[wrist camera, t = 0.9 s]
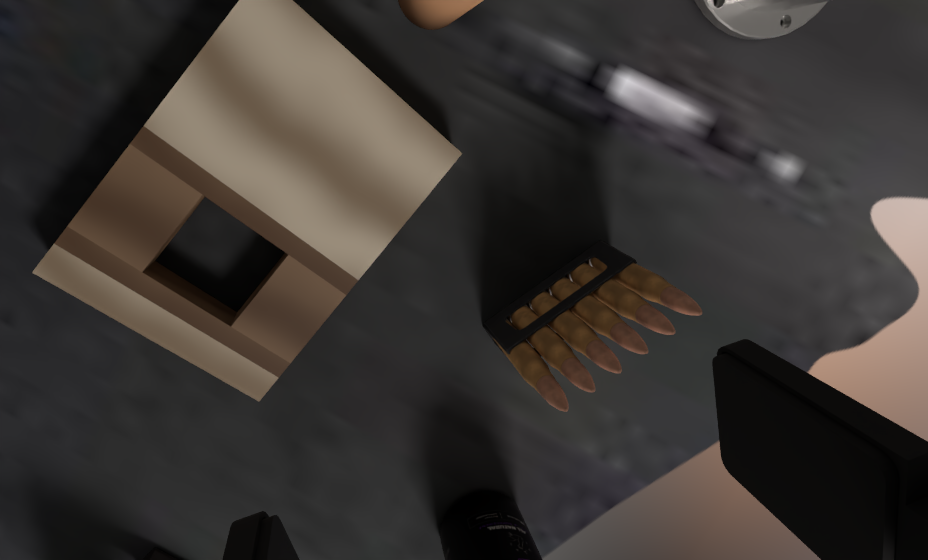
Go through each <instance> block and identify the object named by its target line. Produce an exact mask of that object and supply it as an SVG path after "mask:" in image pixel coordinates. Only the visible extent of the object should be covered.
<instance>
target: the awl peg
mask: <svg viewBox="0 0 928 560" xmlns="http://www.w3.org/2000/svg"><path fill="white" fill-rule="evenodd" d="M482 1H483V0H398V2H399V5H400V8H401V10H402V11H403V13H404V14H405V16H406V17H407V18H408V19H409V20H410V21H411V22H412V23H413V24H415V25H416V26H419V27H421V28H424V29H428V30H435V29H440V28H443V27H445V26H447V25H449V24H450V23H452V22H453V21H454V20H456V19H457V18H459V17H460V16H462V15H463V14H465V13H466V12H467V11H469V10H470V9H472V8H473V7H475V6H476V5H478V4H479V3H480V2H482Z"/></svg>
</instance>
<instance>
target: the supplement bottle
mask: <svg viewBox="0 0 928 560" xmlns="http://www.w3.org/2000/svg"><path fill="white" fill-rule="evenodd" d="M440 539H441V544H442V549H443V553H444V557H445V560H542V557H541V555H540V553H539V551H538V549H537V547H536V545H535V542H534V540H533V538H532V536H531V534H530V532H529V529H528V527H527V525H526V523H525V521H524V519H523V517H522V515H521V513H520V511H519V509H518V507H517V505H516V504H515V503H514V501H513V500H512V499H510V498H509V497H508V496H506V495H504V494H502V493H499V492H496V491H478V492H474V493H471V494H468V495H466V496H464V497H462V498H461V499H459V500H458V501H457V502H455V503H454V504H453V505H452V506H451V507H450V509H449V510H448V511H447V513H446V514H445V516H444V518H443V520H442V523H441V528H440Z"/></svg>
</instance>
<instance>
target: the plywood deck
mask: <svg viewBox="0 0 928 560" xmlns="http://www.w3.org/2000/svg"><path fill="white" fill-rule="evenodd" d="M461 154H462V153H461V152H460V151H459V150H458V149H456V148H455V147H454V146H453V145H452V144H451V143H450V142H449V141H448V140H447V139H445V138H444V137H443V136H442V135H441V134H440V133H439V132H438V131H437V130H435V129H434V128H433V127H432V126H431V125H430V124H429V123H428V122H427V121H426V120H424V119H423V118H422V117H421V116H420V115H419V114H418V113H417V112H416V111H414V110H413V109H412V108H411V107H410V106H409V105H408V104H407V103H406V102H405V101H403V100H402V99H401V98H400V97H399V96H398V95H397V94H396V93H395V92H393V91H392V90H391V89H390V88H389V87H388V86H387V85H386V84H385V83H384V82H382V81H381V80H380V79H379V78H378V77H377V76H376V75H375V74H374V73H372V72H371V71H370V70H369V69H368V68H367V67H366V66H365V65H364V64H363V63H361V62H360V61H359V60H358V59H357V58H356V57H355V56H354V55H353V54H351V53H350V52H349V51H348V50H347V49H346V48H345V47H344V46H343V45H342V44H340V43H339V42H338V41H337V40H336V39H335V38H334V37H333V36H332V35H330V34H329V33H328V32H327V31H326V30H325V29H324V28H323V27H322V26H321V25H319V24H318V23H317V22H316V21H315V20H314V19H313V18H312V17H311V16H309V15H308V14H307V13H306V12H305V11H304V10H303V9H302V8H301V7H300V6H298V5H297V4H296V3H295V2H294V1H293V0H239V1H238V2H237V4H236V5H235V6H234V8H233V9H232V10H231V12H230V13H229V14H228V16H227V17H226V18H225V19H224V21H223V22H222V23H221V25H220V26H219V27H218V29H217V30H216V31H215V33H214V34H213V35H212V37H211V38H210V39H209V41H208V42H207V43H206V44H205V46H204V47H203V48H202V50H201V51H200V52H199V54H198V55H197V56H196V58H195V59H194V60H193V62H192V63H191V64H190V65H189V67H188V68H187V69H186V71H185V72H184V73H183V75H182V76H181V77H180V79H179V80H178V81H177V83H176V84H175V85H174V87H173V88H172V89H171V90H170V92H169V93H168V94H167V96H166V97H165V98H164V100H163V101H162V102H161V104H160V105H159V106H158V108H157V109H156V110H155V112H154V113H153V114H152V115H151V117H150V118H149V119H148V121H147V122H146V123H145V125H144V126H143V127H142V129H141V130H140V131H139V133H138V134H137V135H136V137H135V138H134V139H133V140H132V142H131V143H130V144H129V146H128V147H127V148H126V150H125V151H124V152H123V154H122V155H121V156H120V158H119V159H118V160H117V162H116V163H115V164H114V165H113V167H112V168H111V169H110V171H109V172H108V173H107V175H106V176H105V177H104V179H103V180H102V181H101V183H100V184H99V185H98V187H97V188H96V189H95V190H94V192H93V193H92V194H91V196H90V197H89V198H88V200H87V201H86V202H85V204H84V205H83V206H82V208H81V209H80V210H79V212H78V213H77V214H76V215H75V217H74V218H73V219H72V221H71V222H70V223H69V225H68V226H67V227H66V229H65V230H64V231H63V233H62V234H61V235H60V237H59V238H58V239H57V240H56V242H55V243H54V244H53V246H52V247H51V248H50V250H49V251H48V252H47V254H46V255H45V256H44V258H43V259H42V260H41V262H40V263H39V264H38V265H37V267H36V268H35V269H34V271H33V272H32V273H34V274H36V275H38V276H39V277H41V278H43V279H45V280H46V281H48V282H50V283H52V284H53V285H55V286H57V287H59V288H60V289H62V290H64V291H66V292H68V293H69V294H71V295H73V296H75V297H76V298H78V299H80V300H82V301H83V302H85V303H87V304H89V305H90V306H92V307H94V308H96V309H97V310H99V311H101V312H103V313H104V314H106V315H108V316H110V317H111V318H113V319H115V320H117V321H118V322H120V323H122V324H124V325H125V326H127V327H129V328H131V329H133V330H134V331H136V332H138V333H140V334H141V335H143V336H145V337H147V338H148V339H150V340H152V341H154V342H155V343H157V344H159V345H161V346H162V347H164V348H166V349H168V350H169V351H171V352H173V353H175V354H176V355H178V356H180V357H182V358H183V359H185V360H187V361H189V362H191V363H192V364H194V365H196V366H198V367H199V368H201V369H203V370H205V371H206V372H208V373H210V374H212V375H213V376H215V377H217V378H219V379H220V380H222V381H224V382H226V383H227V384H229V385H231V386H233V387H234V388H236V389H238V390H240V391H241V392H243V393H245V394H247V395H249V396H250V397H252V398H254V399H256V400H257V401H260V400H261V399H262V397H263V396H264V395H265V394H266V392H267V391H268V390H269V389H270V388H271V386H272V385H273V384H274V383H275V381H276V380H277V379H278V378H279V377H280V375H281V374H282V373H283V372H284V370H285V369H286V368H287V367H288V366H289V364H290V363H291V362H292V361H293V359H294V358H295V357H296V356H297V355H298V353H299V352H300V351H301V350H302V348H303V347H304V346H305V345H306V344H307V342H308V341H309V340H310V339H311V338H312V336H313V335H314V334H315V333H316V331H317V330H318V329H319V328H320V327H321V325H322V324H323V323H324V322H325V320H326V319H327V318H328V317H329V316H330V314H331V313H332V312H333V311H334V309H335V308H336V307H337V306H338V305H339V303H340V302H341V301H342V300H343V298H344V297H345V296H346V295H347V294H348V292H349V291H350V290H351V289H352V287H353V286H354V285H355V284H356V283H357V281H358V280H359V279H360V278H361V276H362V275H363V274H364V273H365V272H366V270H367V269H368V268H369V267H370V265H371V264H372V263H373V262H374V261H375V259H376V258H377V257H378V256H379V254H380V253H381V252H382V251H383V250H384V248H385V247H386V246H387V245H388V243H389V242H390V241H391V240H392V239H393V237H394V236H395V235H396V234H397V232H398V231H399V230H400V229H401V228H402V226H403V225H404V224H405V223H406V221H407V220H408V219H409V218H410V217H411V215H412V214H413V213H414V212H415V210H416V209H417V208H418V207H419V206H420V204H421V203H422V202H423V201H424V200H425V198H426V197H427V196H428V195H429V193H430V192H431V191H432V190H433V189H434V187H435V186H436V185H437V184H438V182H439V181H440V180H441V179H442V178H443V176H444V175H445V174H446V173H447V171H448V170H449V169H450V168H451V167H452V165H453V164H454V163H455V162H456V160H457V159H458V158H459V157H460V156H461ZM204 197H207V198H208V199H209V200H211V201H212V202H214V203H215V204H217V205H218V206H220V207H221V208H222V209H224V210H225V211H227V212H228V213H230V214H231V215H232V216H234V217H235V218H237V219H238V220H240V221H241V222H242V223H244V224H245V225H247V226H248V227H250V228H251V229H252V230H254V231H255V232H257V233H258V234H260V235H261V236H262V237H264V238H265V239H267V240H268V241H270V242H271V243H272V244H274V245H275V246H277V247H278V248H280V249H281V250H282V251H284V252H285V253H284V254H283V256H282V257H281V258H280V259H279V261H278V262H277V263H276V264H275V266H274V267H273V268H272V269H271V271H270V272H269V273H268V274H267V276H266V277H265V278H264V279H263V281H262V282H261V283H260V284H259V286H258V287H257V288H256V289H255V291H254V292H253V293H252V294H251V296H250V297H249V298H248V299H247V301H246V302H245V303H244V304H243V306H242V307H241V308H240V309H239V311H238V312H236V311H234V310H233V309H231V308H229V307H228V306H226V305H225V304H223V303H221V302H220V301H218V300H217V299H215V298H213V297H212V296H210V295H209V294H207V293H205V292H204V291H202V290H201V289H199V288H197V287H196V286H194V285H193V284H191V283H189V282H188V281H186V280H185V279H183V278H182V277H180V276H178V275H177V274H175V273H174V272H172V271H170V270H169V269H167V268H166V267H164V266H162V265H161V264H159V263H158V262H156V261H155V260H156V259H157V258H158V256H159V255H160V254H161V253H162V251H163V250H164V249H165V247H166V246H167V245H168V244H169V242H170V241H171V240H172V238H173V237H174V236H175V235H176V233H177V232H178V231H179V229H180V228H181V227H182V226H183V224H184V223H185V222H186V220H187V219H188V218H189V217H190V215H191V214H192V213H193V212H194V210H195V209H196V208H197V206H198V205H199V204H200V203H201V201H202V200H203V199H204Z"/></svg>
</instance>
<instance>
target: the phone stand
mask: <svg viewBox="0 0 928 560" xmlns="http://www.w3.org/2000/svg"><path fill="white" fill-rule="evenodd" d="M143 560H178V559H176V558H174V557H172V556H170V555H168V554H166V553H164V552H163V551H161V550H159V549H157V548H154V549H153V550H152V551H151V552H150V553H149V554H148V555H147V556H146V557H145V558H144V559H143Z"/></svg>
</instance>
